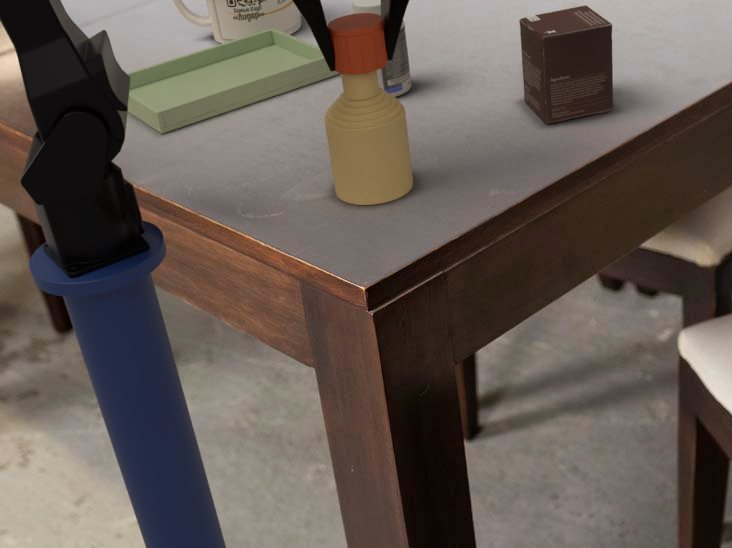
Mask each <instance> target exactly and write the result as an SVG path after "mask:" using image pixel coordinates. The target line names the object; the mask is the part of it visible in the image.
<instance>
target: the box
mask: <svg viewBox="0 0 732 548" xmlns="http://www.w3.org/2000/svg"><path fill="white" fill-rule="evenodd" d="M518 21H519V30H520V47H521V49H520V50H521V65H522V78H523V79H522V80H523V99H524V102H525V104H527V105H528V106H529V107H530V108H531V110H533V111H534V112H535V114H537V116H539V117H540V119H541V120H543V122H544V123H545V124H551V123H557V122H563V121H567V120H571V119H576V118H582V117H585V116H590V115H596V114H602V113H607V112H610V111H613V109H614V85H613V81H614V79H613V75H614V74H613V69H614V67H613V24H612V23H611V22H610V21H609V20H607V19H606V18H605V17H603V16H602V15H600V14H599V13H597V12H596V11H594V10H593V9H592V8H590V7H589V6H588V5H580V6H576V7H575V6H574V7H570V8H565V9H561V10H555V11H550V12H545V13H539V14H533V15H529V16H525V17H522V18H519V20H518Z"/></svg>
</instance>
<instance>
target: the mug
mask: <svg viewBox="0 0 732 548" xmlns="http://www.w3.org/2000/svg"><path fill="white" fill-rule="evenodd" d="M172 2H173V5H174V6H175V8H176V9H177V11H178V12H179V13H180V15H181V16H182V17H183V18H184V19H185V20H187V21H188V22H189V23H191V24H193V25H195V26H198V27H202V28H207V27H208V28H209V27H211V31H212V36H213V39H214V40H215V42H217V43H219V44H223V43H226V42H229V41H233V40H236V39H239V38H242V37H246V36H249V35H252V34H255V33H259V32H262V31H265V30H268V29H272V28H274V29H276V30H279V31H281V32H284V33H286V34H289V35H292V34H295V33H296V32H297V31H298V30H299V29H300V28H301V26H302V18H301V17H302V15H301V13H300V11H299V10H298V8H297V7H296V5H295V4H294V2H293V1H292V0H205V2H206V6H207V12H208V15H200V14H197V13H196V12H194V11H192V10H191V9H190V8H188V7H187V6H186V5H185V3H184V2H183V0H172Z"/></svg>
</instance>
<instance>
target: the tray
mask: <svg viewBox="0 0 732 548" xmlns="http://www.w3.org/2000/svg"><path fill="white" fill-rule="evenodd" d="M125 73H126V74H128V75H129V76H130V78H131V80H130V90H129V100H128V113H129V114H131V115H133V116H134V117H135V118H137V119H139V121H141V122H143V123H145V124H146V125H148V126H149V127H151V128H152V129H153V130H155V131H157V132H158V133H160V134H161V135H163V134H166V133H168V132H171V131H174V130H177V129H181V128H183V127H187V126H189V125H192V124H195V123H198V122H201V121H205V120H207V119H210V118H212V117H216V116H220V115H222V114H225V113H228V112H231V111H234V110H237V109H239V108H242V107H245V106H249V105H251V104H254V103H258V102H261V101H264V100H266V99H270V98H273V97H274V96H278V95H281V94H285V93H287V92H290V91H293V90H296V89H298V88H302V87H306V86H308V85H310V84H311V85H312V84H313V83H316V82H319V81H320V82H321V81H323V80H325V79H329V78H333V77H334V76H338V75H340V73H338V72H336V71H332V72H331V71H330V69H329V67H328V65H327V63H326V61H325V59H324V57H323V54H322V52H321V50H320V48H319V46H318V45H316V44H313V43H311V42H308V41H306V40H303V39H300V38H298V37H297V36H293V35H292V34H290V35H289V34H286V33H284V32H281V31H279V30H276V29H274V28H272V29H268V30H265V31H262V32H259V33H255V34H252V35H249V36H246V37H242V38H239V39H236V40H233V41H229V42H226V43H223V44H222V43H219V44H217V45H214V46H210V47H207V48H204V49H200V50H197V51H194V52H191V53H188V54H185V55H181V56H178V57H174V58H171V59H168V60H166V61H162V62H158V63H156V64H152V65H148V66H145V67H142V68H139V69H136V70H132V71H129V72H125Z"/></svg>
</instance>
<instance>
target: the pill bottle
mask: <svg viewBox="0 0 732 548" xmlns="http://www.w3.org/2000/svg"><path fill="white" fill-rule="evenodd" d="M352 12H353V13H352V14H357V13H373V14H378V15H380V16H381V0H352ZM407 44H408V42H407V34H406V25H405V21H404V20H403V22H402V26H401V29H400V33H399V37H398V41H397V44H396V48H395V52H394V56H393V59H392V60H391V61H388V63H387V64H386V65H385V66H384V67H383V68H381V69H379V70H377V76H378V84H379V87H380V88H382V89H383V90H384V91H386V92H388V93H389V94H391V95H392V96H394V97H395V98H397V97H399V96H402V95H404V94H406V93H407V92H408V91H409V90H411V88H412V78H411V70H410V60H409V52H408V45H407Z"/></svg>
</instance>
